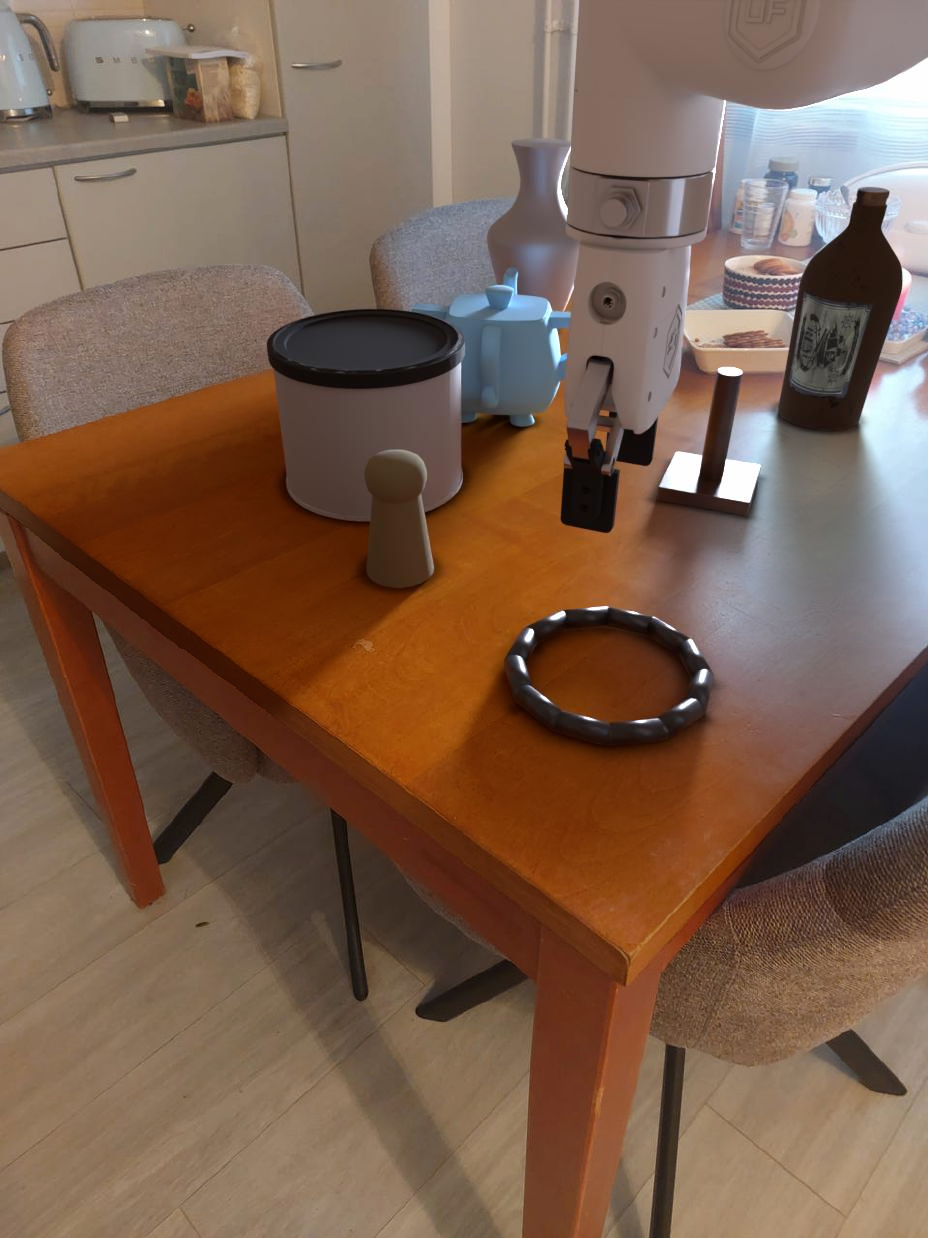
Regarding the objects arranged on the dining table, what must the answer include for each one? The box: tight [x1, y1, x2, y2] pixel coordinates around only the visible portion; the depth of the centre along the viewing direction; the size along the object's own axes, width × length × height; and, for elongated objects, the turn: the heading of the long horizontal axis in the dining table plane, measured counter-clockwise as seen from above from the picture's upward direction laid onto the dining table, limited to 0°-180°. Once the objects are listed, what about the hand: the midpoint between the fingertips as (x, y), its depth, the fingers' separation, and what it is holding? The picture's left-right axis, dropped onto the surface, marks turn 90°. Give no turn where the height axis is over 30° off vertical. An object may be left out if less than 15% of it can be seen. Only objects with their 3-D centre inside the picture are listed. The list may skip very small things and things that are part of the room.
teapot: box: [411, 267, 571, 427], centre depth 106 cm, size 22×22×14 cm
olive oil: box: [777, 186, 904, 432], centre depth 100 cm, size 11×11×25 cm
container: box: [266, 308, 465, 522], centre depth 90 cm, size 19×19×15 cm
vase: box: [486, 137, 580, 312], centre depth 127 cm, size 14×14×25 cm
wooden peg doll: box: [364, 449, 435, 589], centre depth 77 cm, size 6×6×11 cm
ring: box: [503, 605, 715, 747], centre depth 67 cm, size 15×15×2 cm
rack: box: [656, 366, 762, 517], centre depth 89 cm, size 9×9×12 cm
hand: (608, 492), depth 57 cm, fingers open, 9 cm apart
